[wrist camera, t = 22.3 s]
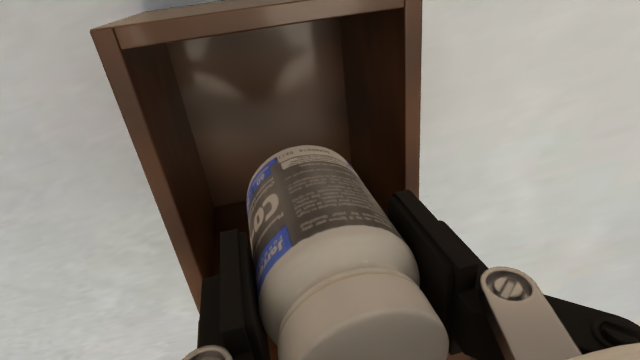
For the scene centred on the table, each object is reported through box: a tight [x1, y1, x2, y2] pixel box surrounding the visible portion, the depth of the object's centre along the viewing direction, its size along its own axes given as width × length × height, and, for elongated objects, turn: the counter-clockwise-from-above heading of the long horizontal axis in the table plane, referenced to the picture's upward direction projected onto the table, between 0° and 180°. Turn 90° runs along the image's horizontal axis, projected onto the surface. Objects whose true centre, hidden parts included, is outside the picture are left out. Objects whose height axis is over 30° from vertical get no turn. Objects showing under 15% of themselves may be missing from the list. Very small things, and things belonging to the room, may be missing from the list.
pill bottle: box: [247, 145, 449, 360], centre depth 12 cm, size 5×5×8 cm
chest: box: [90, 0, 422, 314], centre depth 22 cm, size 15×13×11 cm
